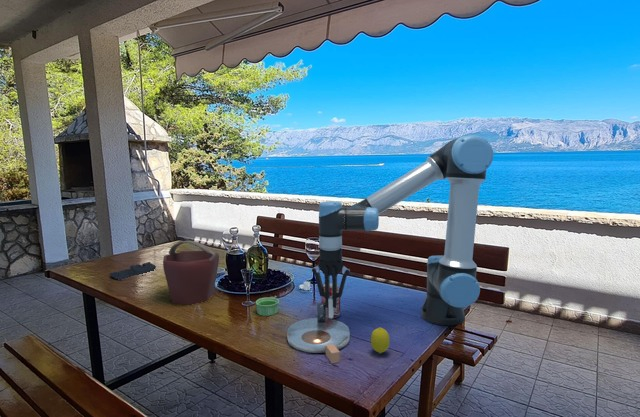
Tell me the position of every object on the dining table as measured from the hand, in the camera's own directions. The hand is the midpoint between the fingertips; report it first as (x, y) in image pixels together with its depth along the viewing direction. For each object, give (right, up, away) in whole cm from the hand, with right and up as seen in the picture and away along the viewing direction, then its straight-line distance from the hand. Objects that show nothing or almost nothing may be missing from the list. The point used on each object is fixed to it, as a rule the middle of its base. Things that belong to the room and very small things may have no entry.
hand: (331, 316), depth 122 cm
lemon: (+14, -7, -15) cm, 22 cm away
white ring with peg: (-8, -1, +45) cm, 46 cm away
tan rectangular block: (0, -7, -18) cm, 19 cm away
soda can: (0, -4, +13) cm, 13 cm away
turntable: (-4, -6, -6) cm, 9 cm away
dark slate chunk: (-103, +1, +70) cm, 125 cm away
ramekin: (-24, -4, +17) cm, 30 cm away
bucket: (-59, -2, +32) cm, 67 cm away
